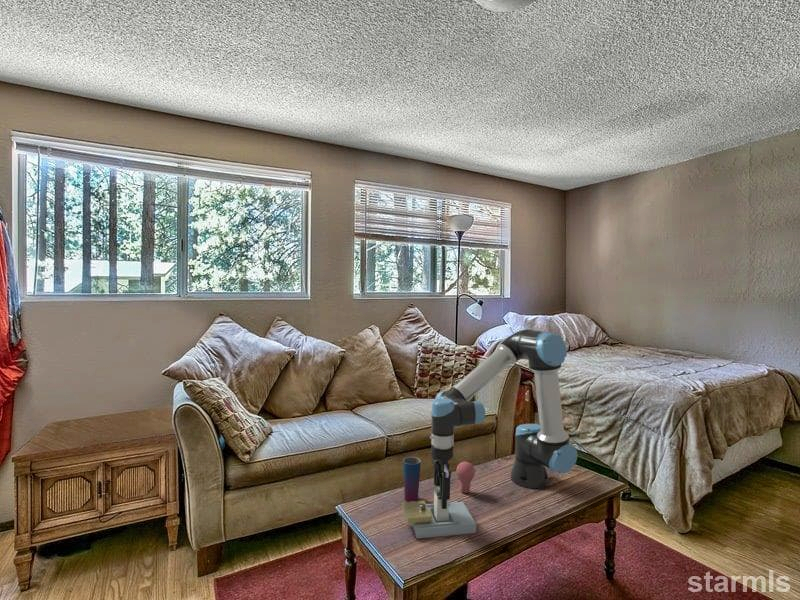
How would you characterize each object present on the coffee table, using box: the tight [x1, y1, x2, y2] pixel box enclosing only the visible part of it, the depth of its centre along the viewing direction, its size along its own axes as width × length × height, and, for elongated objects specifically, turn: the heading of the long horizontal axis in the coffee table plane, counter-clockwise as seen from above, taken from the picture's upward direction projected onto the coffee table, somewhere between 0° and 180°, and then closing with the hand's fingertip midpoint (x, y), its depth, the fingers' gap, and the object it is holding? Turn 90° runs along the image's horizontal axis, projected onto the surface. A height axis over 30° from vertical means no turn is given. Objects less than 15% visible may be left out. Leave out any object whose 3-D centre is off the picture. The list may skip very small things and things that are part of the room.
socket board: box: [412, 501, 477, 539], centre depth 141 cm, size 20×14×4 cm
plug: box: [433, 485, 450, 521], centre depth 141 cm, size 4×4×10 cm
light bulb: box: [456, 461, 476, 494], centre depth 163 cm, size 7×7×12 cm
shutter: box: [401, 500, 432, 527], centre depth 140 cm, size 8×10×4 cm
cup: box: [402, 456, 422, 502], centre depth 157 cm, size 7×7×15 cm
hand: (441, 512), depth 141 cm, fingers closed on plug, 4 cm apart
